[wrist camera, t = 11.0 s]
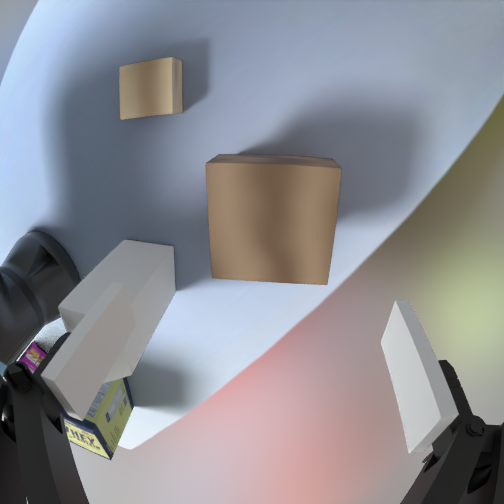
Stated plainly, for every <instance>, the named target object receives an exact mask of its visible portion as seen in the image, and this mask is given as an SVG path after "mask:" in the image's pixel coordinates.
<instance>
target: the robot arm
mask: <svg viewBox="0 0 504 504" xmlns="http://www.w3.org/2000/svg"><path fill="white" fill-rule="evenodd" d="M79 283H80V279H79V275H78V273H77V270H76V268H75V266H74V264H73V262H72V260H71V258H70V257H69V255H68V254H67V252H66V251H65V250H64V249H63V248H62V246H61V245H60V244H59V243H58V242H57V241H55V240H54V239H53V238H52V237H50V236H49V235H47V234H45V233H42V232H38V231H32V232H29V233H27V234H26V235H24V236H23V237H22V238H20V239H19V240H18V241H17V242H16V244H15V245H14V247H13V248H12V250H11V251H10V253H9V254H8V256H7V257H6V259H5V261H4V262H3V264H2V265H1V267H0V504H27V500H28V504H89V502H88V499H87V496H86V494H85V491H84V488H83V486H82V483H81V480H80V477H79V474H78V471H77V468H76V465H75V461H74V458H73V454H72V451H71V447H70V443H69V439H68V436H67V431H66V427H65V423H64V418H63V416H62V414H61V412H62V410H63V408H64V410H65V411H66V412H67V413H68V415H69V416H71V417H74V418H76V419H78V420H81V421H83V419H84V418H85V416H86V414H87V412H88V410H89V408H90V406H91V404H92V402H93V400H94V399H95V397H96V395H97V393H98V391H99V389H100V387H101V386H102V384H103V382H104V380H105V378H106V377H107V375H108V373H109V371H110V369H111V368H112V366H113V364H114V362H115V361H116V359H117V357H118V355H119V354H120V352H121V350H122V348H123V347H124V345H125V343H126V342H127V340H128V338H129V337H130V335H131V333H132V331H133V330H134V328H135V326H136V322H135V319H134V315H133V312H132V308H131V305H130V301H129V297H128V293H127V289H126V285H125V283H117V282H112V283H111V284H110V286H109V287H108V288H107V289H106V290H105V292H104V293H103V294H102V295H101V296H100V298H99V299H98V300H97V301H96V303H95V304H94V305H93V306H92V307H91V309H90V310H89V311H88V312H87V314H86V315H85V316H84V317H83V319H82V320H81V321H80V323H79V324H78V325H77V326H76V328H75V329H74V330H73V332H72V333H71V332H67V333H65V334H64V335H63V336H61V337H60V338H59V339H58V340H57V341H56V343H55V344H54V345H53V347H52V348H51V349H50V351H49V353H47V355H46V356H45V357H44V359H43V360H42V361H41V363H40V364H39V366H38V367H37V368H36V370H35V371H34V373H33V374H32V372H31V370H30V369H29V367H28V366H27V364H26V363H25V362H22V361H16V360H17V359H18V358H19V357H20V355H21V354H22V353H23V351H24V350H25V349H26V347H27V346H28V345H29V344H30V342H31V341H32V340H33V339H34V337H35V336H36V335H37V334H38V332H39V331H40V330H41V329H42V328H43V327H44V326H45V325H47V324H49V323H51V322H53V321H55V320H57V319H59V318H60V317H61V315H60V312H59V308H58V306H59V305H60V303H61V302H62V301H63V300H64V299H65V298H66V297H67V296H68V295H69V294H70V293H71V292H72V291H73V289H74V288H75V287H76V286H77V285H78V284H79ZM381 345H382V348H383V352H384V355H385V358H386V362H387V365H388V369H389V372H390V376H391V380H392V383H393V387H394V391H395V395H396V398H397V403H398V407H399V411H400V415H401V419H402V423H403V428H404V433H405V437H406V442H407V447H408V452H409V454H411V453H416V452H421V451H425V450H426V449H427V448H428V447H429V446H430V445H431V444H432V446H433V451H432V453H430V454H429V455H428V456H427V457H426V458H425V459H424V460H423V461H422V462H423V463H425V462H426V461H427V462H426V463H425V465H424V467H423V468H422V470H421V472H420V474H419V475H418V477H417V479H416V480H415V482H414V484H413V485H412V487H411V488H410V490H409V491H408V493H407V494H406V496H405V497H404V499H403V500H402V502H401V503H400V504H504V422H503V423H502V425H486V424H485V422H484V421H483V420H482V419H481V418H480V417H478V416H475V415H473V414H472V411H471V409H470V406H469V404H468V401H467V399H466V396H465V394H464V391H463V389H462V387H461V384H460V382H459V379H457V375H456V372H455V370H454V368H453V367H452V366H451V365H450V364H449V363H448V362H447V360H439V361H438V360H437V358H436V355H435V353H434V351H433V349H432V346H431V344H430V342H429V340H428V338H427V336H426V333H425V331H424V329H423V327H422V325H421V323H420V321H419V319H418V317H417V315H416V313H415V311H414V309H413V307H412V305H411V303H410V301H409V300H395V303H394V306H393V309H392V312H391V315H390V318H389V321H388V324H387V326H386V329H385V332H384V335H383V338H382V340H381ZM3 376H4V377H5V379H6V381H5V380H4V379H3ZM2 414H3V416H4V421H2ZM26 496H27V500H26Z"/></svg>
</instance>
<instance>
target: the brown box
mask: <svg viewBox="0 0 504 504" xmlns="http://www.w3.org/2000/svg"><path fill="white" fill-rule="evenodd" d="M340 180H341V168H340V166H339V165H338V164H337V163H336V162H335V161H334V160H333V159H329V158H316V157H301V156H281V155H248V154H219V155H217V156H216V157H214V158H213V159H211V160H210V161H208V162H207V163H206V181H207V203H208V222H209V239H210V254H211V268H212V278H217V279H231V280H246V281H261V282H278V283H296V284H316V285H327V284H328V278H329V271H330V264H331V258H332V250H333V243H334V235H335V227H336V219H337V210H338V201H339V191H340Z"/></svg>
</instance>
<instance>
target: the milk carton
mask: <svg viewBox="0 0 504 504" xmlns="http://www.w3.org/2000/svg"><path fill="white" fill-rule="evenodd" d="M112 282H117V283H125V285H126V289H127V293H128V297H129V301H130V305H131V308H132V312H133V315H134V319H135V322H136V326H135V328H134V330H133V331H132V333H131V335H130V337H129V338H128V340H127V342H126V343H125V345H124V347H123V348H122V350H121V352H120V354H119V355H118V357H117V359H116V361H115V362H114V364H113V366H112V368H111V369H110V371H109V373H108V375H107V377H106V378H105V380H104V382H103V383H107V382H110V381H114V380H117V379H121V378H124V377H127V376H131V375H132V374H133V372H134V370H135V368H136V366H137V364H138V362H139V360H140V358H141V356H142V354H143V352H144V350H145V348H146V346H147V344H148V343H149V341H150V339H151V337H152V335H153V333H154V331H155V329H156V327H157V326H158V324H159V322H160V320H161V318H162V316H163V314H164V313H165V311H166V309H167V307H168V305H169V304H170V302H171V300H172V298H173V296H174V294H175V292H176V286H175V267H174V247H173V246H167V245H160V244H153V243H146V242H139V241H132V240H123V241H122V242H121V243H120V244H119V245H118V246H117V247H116V248H115V249H114V250H113V251H111V252H110V253H109V254H108V255H107V256H106V257H105V258H104V259H103V260H102V261H101V262H100V263H99V264H98V265H97V266H96V267H95V268H94V269H93V270H92V271H91V272H90V273H89V274H88V275H87V276H86V277H85V278H84V279H83V280H82V281H81V282H80V283H79V284H78V285H77V286H76V287H75V288H74V289H73V291H72V292H71V293H70V294H69V295H68V296H67V297H66V298H65V299H64V300H63V301H62V302H61V303H60V305H59V306H58V308H59V312H60V315H61V318H62V320H63V323H64V326H65V329H66V331H67V332H71V333H72V332H73V330H74V329H75V328H76V326H77V325H78V324H79V323H80V321H81V320H82V319H83V317H84V316H85V315H86V314H87V312H88V311H89V310H90V309H91V307H92V306H93V305H94V304H95V303H96V301H97V300H98V299H99V298H100V296H101V295H102V294H103V293H104V292H105V290H106V289H107V288H108V287H109V286H110V284H111V283H112Z"/></svg>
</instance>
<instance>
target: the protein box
mask: <svg viewBox="0 0 504 504" xmlns="http://www.w3.org/2000/svg"><path fill="white" fill-rule="evenodd" d="M133 407H134V405H133V402H132V398H131V394H130V390H129V386H128V382H127V378H126V377H124V378H121V379H117V380H114V381H110V382H107V383H103V384H102V386H101V387H100V389H99V391H98V393H97V395H96V397H95V399H94V400H93V402H92V404H91V406H90V408H89V410H88V412H87V414H86V416H85V418H84V419H83V421H81V420H78V419H76V418H74V417H71V416H69V415H68V413H67V412H66V411H65V410H64V408H63V410H62V412H61V414H62V416H63V418H64V423H65V427H66V431H67V436H68V439H69V440H70V442H72V443H74V444H76V445H78V446H80V447H82V448H85V449H87V450H89V451H91V452H93V453H95V454H98V455H100V456H102V457H104V458H107V459H109V460H111V459H112V457H113V454H114V452H115V449H116V447H117V445H118V442H119V440H120V438H121V435H122V433H123V431H124V428H125V426H126V423H127V421H128V419H129V417H130V414H131V412H132V410H133Z"/></svg>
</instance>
